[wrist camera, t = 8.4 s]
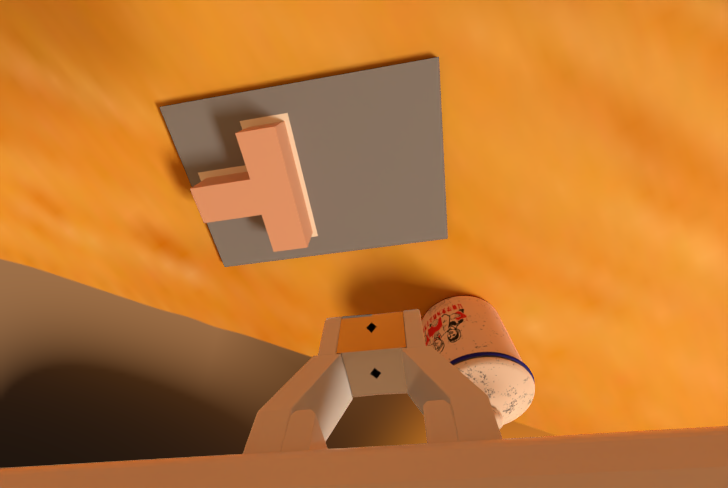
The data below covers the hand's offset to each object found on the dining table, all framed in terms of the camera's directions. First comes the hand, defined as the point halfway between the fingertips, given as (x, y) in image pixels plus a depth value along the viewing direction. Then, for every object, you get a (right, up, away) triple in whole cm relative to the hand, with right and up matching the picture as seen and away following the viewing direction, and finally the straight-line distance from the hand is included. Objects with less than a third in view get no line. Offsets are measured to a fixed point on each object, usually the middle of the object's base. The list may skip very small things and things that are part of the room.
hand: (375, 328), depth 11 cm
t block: (-10, +8, +19) cm, 22 cm away
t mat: (-5, +9, +19) cm, 21 cm away
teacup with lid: (+9, -7, +27) cm, 29 cm away
